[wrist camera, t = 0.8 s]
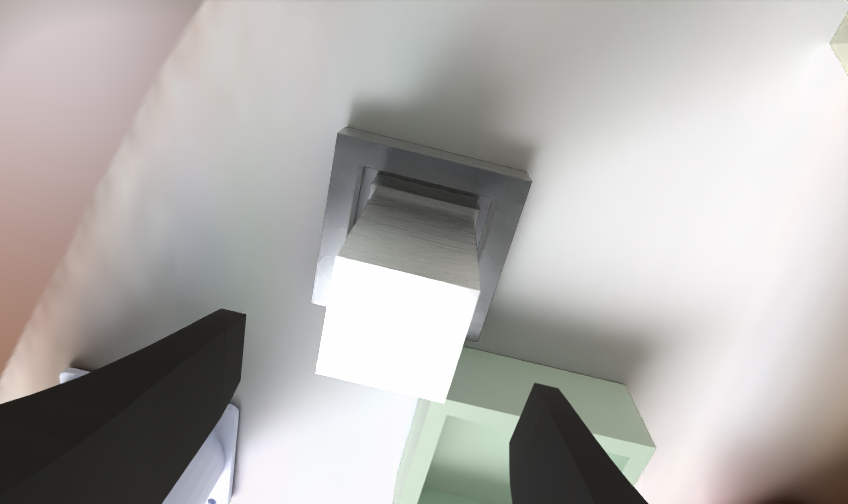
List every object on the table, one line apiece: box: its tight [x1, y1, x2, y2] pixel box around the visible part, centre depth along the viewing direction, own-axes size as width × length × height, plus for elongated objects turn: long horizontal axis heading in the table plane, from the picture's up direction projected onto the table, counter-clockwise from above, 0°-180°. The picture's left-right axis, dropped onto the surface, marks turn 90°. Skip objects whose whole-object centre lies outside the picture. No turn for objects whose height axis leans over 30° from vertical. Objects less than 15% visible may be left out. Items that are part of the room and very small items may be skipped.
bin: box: [393, 347, 656, 504], centre depth 23 cm, size 10×10×4 cm
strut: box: [316, 174, 481, 403], centre depth 17 cm, size 4×4×8 cm
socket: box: [311, 127, 532, 342], centre depth 20 cm, size 8×8×2 cm
